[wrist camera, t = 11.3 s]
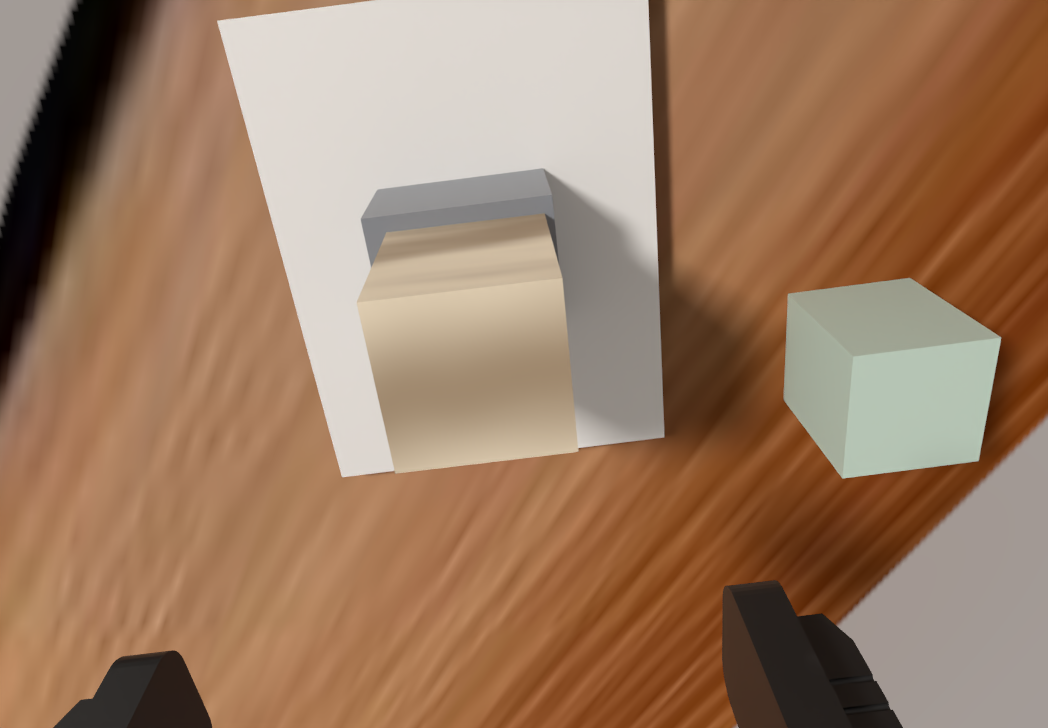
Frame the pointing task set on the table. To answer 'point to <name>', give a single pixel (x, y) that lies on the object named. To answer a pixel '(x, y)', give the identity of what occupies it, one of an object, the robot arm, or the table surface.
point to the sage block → (888, 376)
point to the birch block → (470, 344)
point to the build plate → (461, 176)
